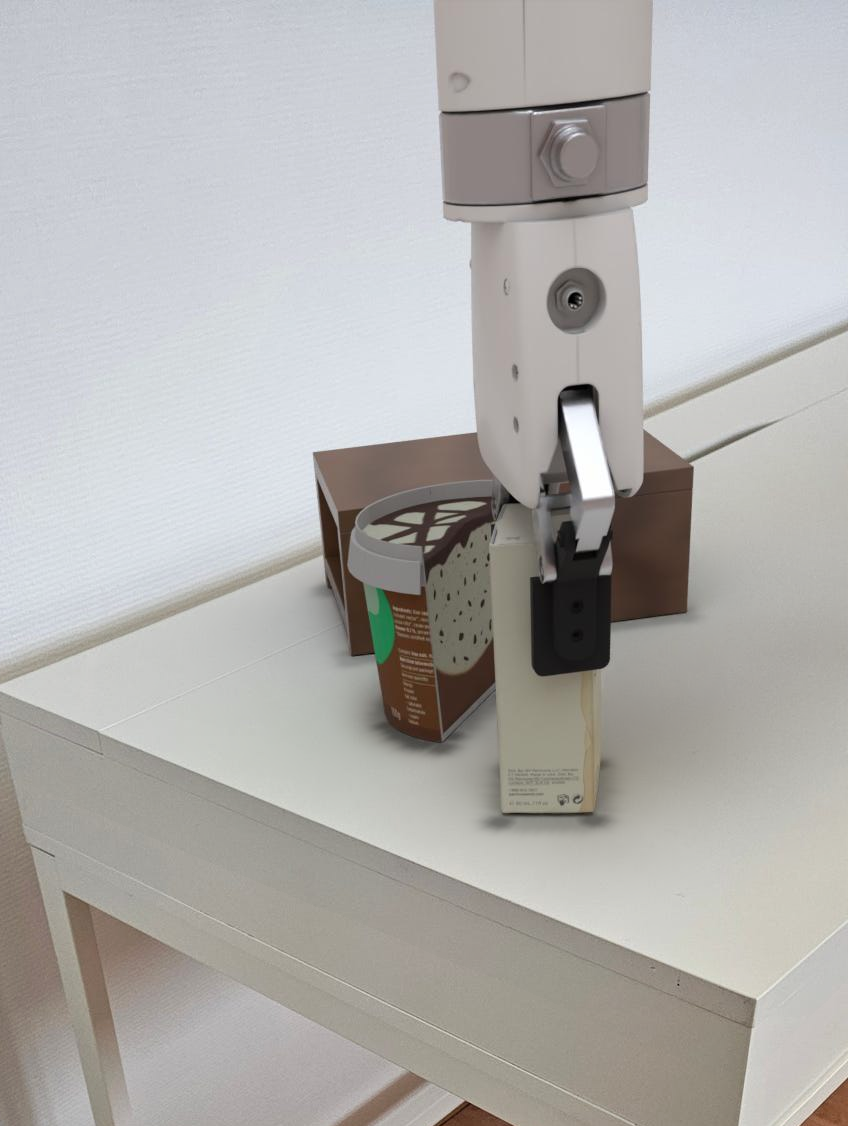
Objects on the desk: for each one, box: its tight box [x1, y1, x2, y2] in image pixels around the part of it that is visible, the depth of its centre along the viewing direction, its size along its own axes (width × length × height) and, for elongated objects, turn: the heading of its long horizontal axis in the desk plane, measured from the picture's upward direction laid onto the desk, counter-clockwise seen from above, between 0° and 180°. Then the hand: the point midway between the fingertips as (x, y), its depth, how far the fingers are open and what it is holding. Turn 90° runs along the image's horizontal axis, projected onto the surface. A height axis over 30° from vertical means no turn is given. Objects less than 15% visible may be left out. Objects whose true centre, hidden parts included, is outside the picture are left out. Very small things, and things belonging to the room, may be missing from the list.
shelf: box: [312, 428, 695, 656], centre depth 85 cm, size 20×14×8 cm
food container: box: [347, 480, 496, 743], centre depth 72 cm, size 12×6×10 cm, turn 154°
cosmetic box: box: [489, 503, 602, 814], centre depth 62 cm, size 6×4×12 cm
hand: (548, 635), depth 62 cm, fingers closed on cosmetic box, 7 cm apart
